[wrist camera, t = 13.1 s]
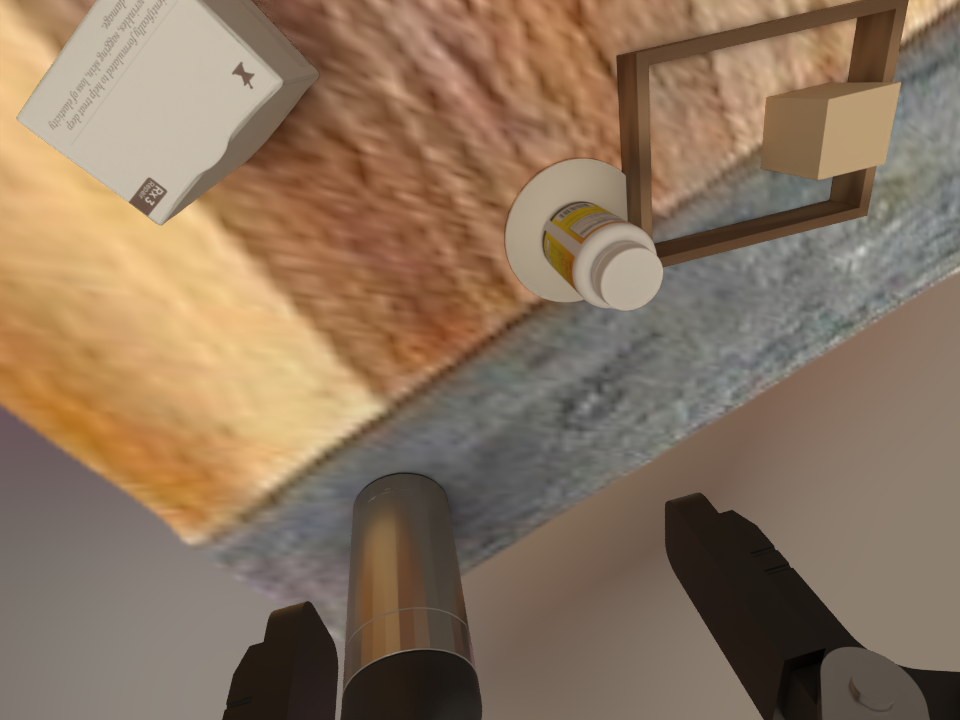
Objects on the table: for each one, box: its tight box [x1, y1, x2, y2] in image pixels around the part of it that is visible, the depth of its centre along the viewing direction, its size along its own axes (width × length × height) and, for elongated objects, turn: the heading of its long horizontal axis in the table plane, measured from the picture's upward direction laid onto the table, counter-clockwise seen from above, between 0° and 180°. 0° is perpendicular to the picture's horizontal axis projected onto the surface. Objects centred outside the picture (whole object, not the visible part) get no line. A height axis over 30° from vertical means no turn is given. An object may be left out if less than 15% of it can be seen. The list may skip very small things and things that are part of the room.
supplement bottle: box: [542, 201, 663, 311], centre depth 35 cm, size 6×6×10 cm
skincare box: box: [17, 0, 320, 225], centre depth 25 cm, size 8×6×15 cm
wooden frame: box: [617, 0, 909, 267], centre depth 37 cm, size 15×19×3 cm
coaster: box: [504, 158, 628, 302], centre depth 39 cm, size 11×11×1 cm
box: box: [760, 82, 901, 180], centre depth 36 cm, size 5×5×6 cm
